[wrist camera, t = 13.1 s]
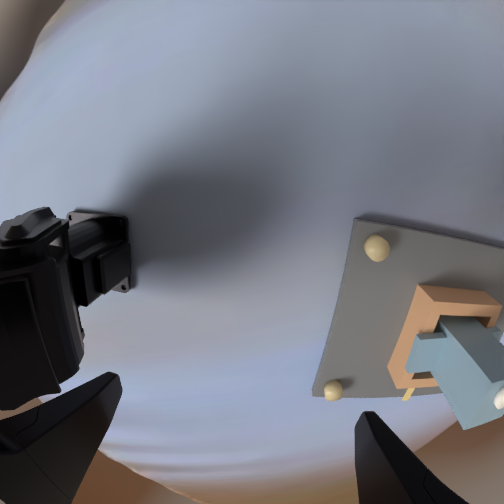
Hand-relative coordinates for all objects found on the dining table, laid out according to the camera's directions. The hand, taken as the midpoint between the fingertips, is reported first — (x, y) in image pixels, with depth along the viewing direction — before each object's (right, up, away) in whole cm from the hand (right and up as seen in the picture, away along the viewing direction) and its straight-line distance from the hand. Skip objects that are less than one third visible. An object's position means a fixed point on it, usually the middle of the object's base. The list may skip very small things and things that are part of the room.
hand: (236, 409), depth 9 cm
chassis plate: (+17, -1, +12) cm, 21 cm away
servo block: (+17, -1, +11) cm, 20 cm away
